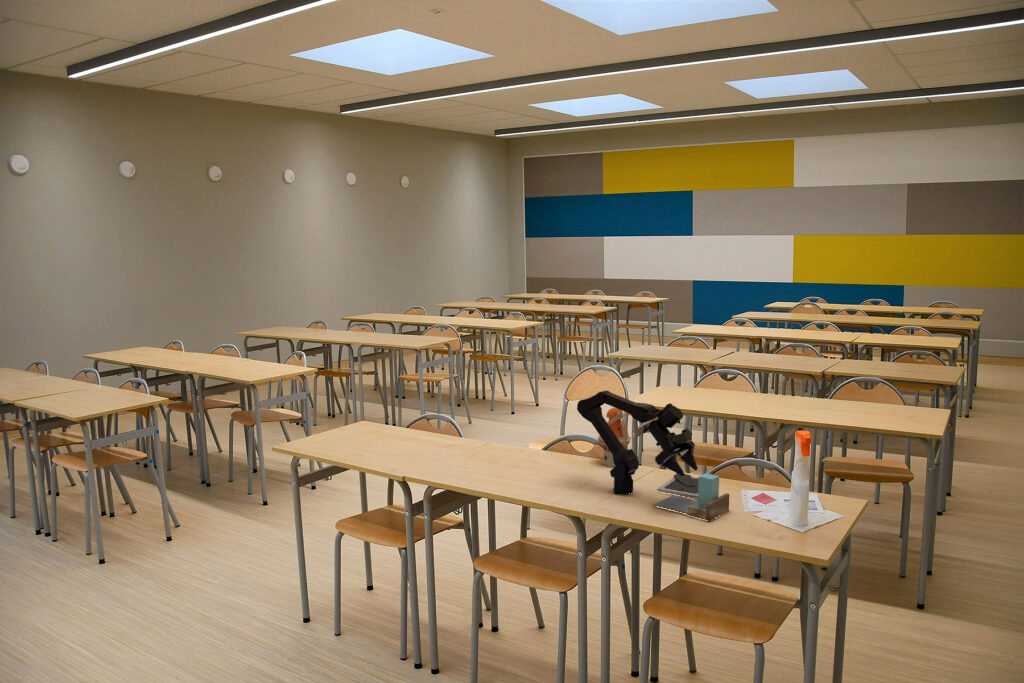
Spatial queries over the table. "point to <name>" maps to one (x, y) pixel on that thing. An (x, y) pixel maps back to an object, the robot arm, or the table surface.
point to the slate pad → (677, 503)
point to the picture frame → (681, 486)
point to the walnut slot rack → (711, 508)
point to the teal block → (707, 489)
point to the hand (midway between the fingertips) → (690, 472)
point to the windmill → (618, 430)
